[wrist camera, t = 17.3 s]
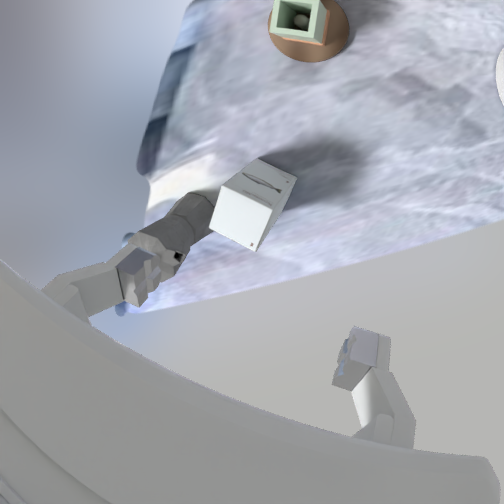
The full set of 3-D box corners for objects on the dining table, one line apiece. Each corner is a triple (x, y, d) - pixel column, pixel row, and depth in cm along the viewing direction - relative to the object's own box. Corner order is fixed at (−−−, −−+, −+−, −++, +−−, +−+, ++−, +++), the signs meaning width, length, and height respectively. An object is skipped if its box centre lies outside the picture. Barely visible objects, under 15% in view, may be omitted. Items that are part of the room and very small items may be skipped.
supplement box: (299, 176, 45) (275, 210, 36) (281, 213, 50) (255, 254, 40) (256, 155, 46) (221, 183, 36) (242, 193, 51) (207, 229, 41)
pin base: (354, 1, 28) (351, -11, 23) (342, 69, 34) (338, 68, 29) (275, -10, 30) (261, -21, 25) (265, 55, 37) (250, 53, 32)
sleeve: (330, 12, 29) (321, -2, 23) (324, 46, 32) (314, 40, 26) (290, 6, 30) (273, -7, 24) (285, 40, 33) (267, 33, 27)
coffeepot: (219, 187, 52) (158, 239, 38) (234, 234, 56) (184, 296, 42) (154, 197, 58) (92, 244, 44) (170, 238, 63) (116, 290, 49)
